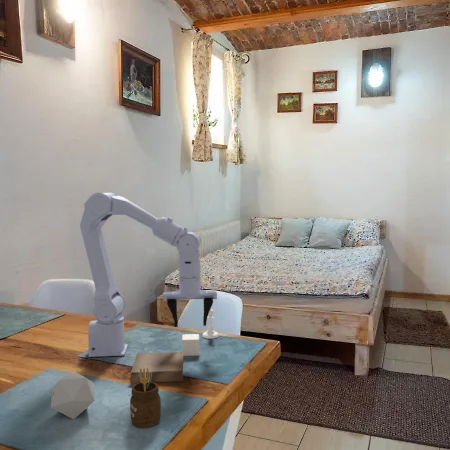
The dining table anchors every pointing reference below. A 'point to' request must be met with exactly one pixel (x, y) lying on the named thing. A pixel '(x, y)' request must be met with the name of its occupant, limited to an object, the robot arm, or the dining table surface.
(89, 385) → the die
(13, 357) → the dining table surface
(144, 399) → the utensil holder
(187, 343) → the white cube
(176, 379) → the walnut block
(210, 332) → the chess piece
